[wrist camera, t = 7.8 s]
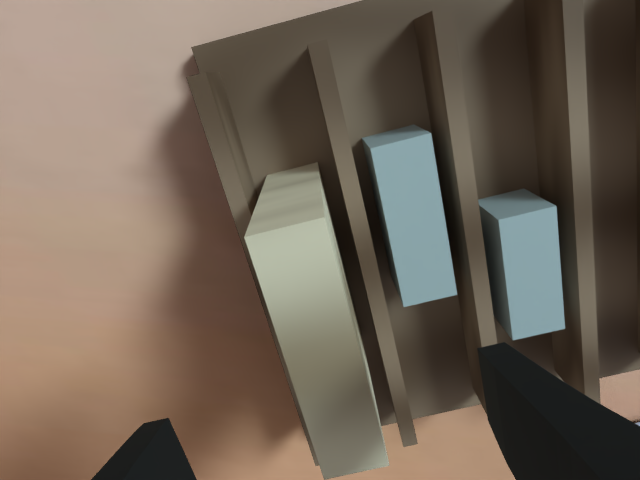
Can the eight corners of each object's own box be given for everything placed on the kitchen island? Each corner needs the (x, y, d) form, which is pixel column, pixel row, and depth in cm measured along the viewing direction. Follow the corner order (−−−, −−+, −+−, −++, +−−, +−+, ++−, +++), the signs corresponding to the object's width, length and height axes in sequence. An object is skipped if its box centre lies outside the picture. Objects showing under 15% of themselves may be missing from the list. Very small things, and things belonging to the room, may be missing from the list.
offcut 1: (438, 267, 19) (457, 294, 17) (391, 278, 19) (403, 307, 17) (413, 124, 17) (431, 133, 15) (361, 137, 17) (370, 148, 15)
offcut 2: (534, 298, 20) (565, 328, 17) (488, 308, 20) (512, 340, 18) (524, 188, 18) (556, 205, 16) (473, 200, 18) (498, 220, 16)
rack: (638, 353, 22) (696, 403, 19) (317, 424, 23) (319, 483, 20) (635, -72, 16) (721, -109, 13) (197, 48, 17) (171, 43, 14)
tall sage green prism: (362, 337, 20) (389, 465, 14) (318, 347, 20) (323, 479, 14) (317, 162, 18) (325, 217, 11) (267, 175, 18) (243, 237, 11)
